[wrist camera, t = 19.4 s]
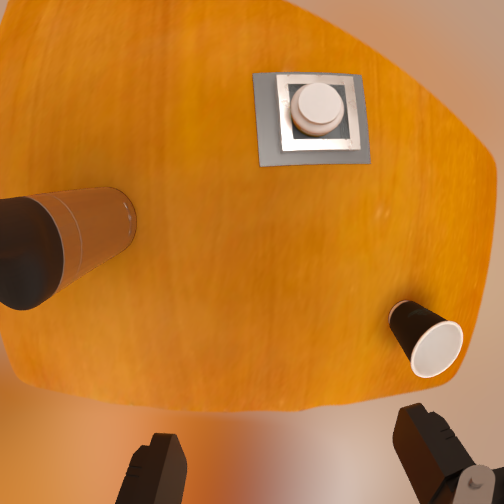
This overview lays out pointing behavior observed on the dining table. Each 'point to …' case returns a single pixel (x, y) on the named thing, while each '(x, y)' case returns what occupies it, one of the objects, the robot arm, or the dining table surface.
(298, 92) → the supplement bottle
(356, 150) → the socket board
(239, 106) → the dining table surface
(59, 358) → the dining table surface
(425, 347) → the dixie cup
